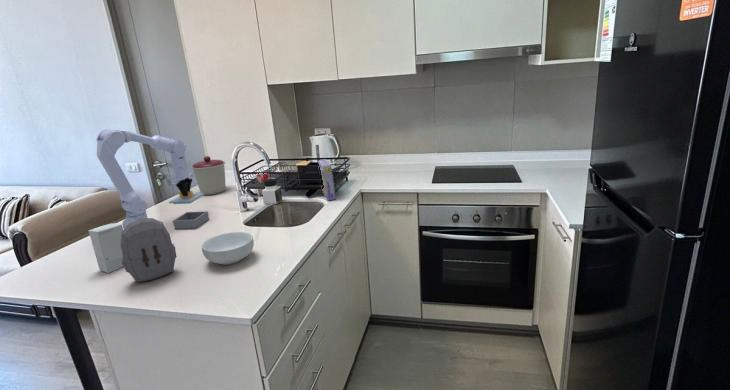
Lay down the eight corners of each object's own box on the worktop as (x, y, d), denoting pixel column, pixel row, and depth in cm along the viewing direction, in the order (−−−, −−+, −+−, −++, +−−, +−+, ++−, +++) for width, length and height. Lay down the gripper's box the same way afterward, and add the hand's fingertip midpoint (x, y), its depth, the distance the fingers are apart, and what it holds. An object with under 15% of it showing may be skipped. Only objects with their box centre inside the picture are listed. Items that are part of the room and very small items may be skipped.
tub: (196, 228, 163) (194, 220, 162) (174, 229, 164) (172, 220, 163) (209, 219, 173) (207, 211, 172) (188, 220, 174) (186, 212, 173)
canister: (219, 197, 209) (212, 159, 203) (190, 197, 212) (182, 160, 206) (235, 187, 226) (229, 152, 220) (208, 188, 229) (201, 153, 223)
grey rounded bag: (177, 265, 130) (164, 209, 124) (183, 274, 123) (169, 215, 117) (127, 281, 121) (110, 222, 116) (130, 291, 115) (112, 229, 109)
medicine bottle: (276, 204, 189) (273, 180, 185) (263, 204, 190) (259, 180, 187) (282, 199, 196) (279, 176, 192) (269, 199, 197) (266, 177, 194)
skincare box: (108, 273, 127) (96, 232, 123) (98, 270, 130) (86, 230, 126) (133, 262, 134) (122, 223, 130) (123, 260, 137) (112, 221, 133)
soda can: (256, 195, 206) (252, 174, 203) (265, 192, 212) (262, 170, 208) (266, 196, 203) (262, 174, 199) (275, 192, 209) (272, 171, 205)
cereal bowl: (261, 261, 128) (258, 242, 126) (209, 276, 120) (205, 256, 118) (249, 244, 142) (246, 227, 140) (202, 257, 135) (198, 238, 133)
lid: (191, 204, 171) (189, 194, 169) (169, 205, 172) (167, 195, 171) (204, 196, 182) (202, 187, 180) (184, 197, 183) (182, 188, 182)
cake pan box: (320, 191, 205) (317, 159, 200) (330, 190, 206) (326, 158, 201) (326, 201, 187) (322, 166, 182) (336, 200, 188) (333, 165, 183)
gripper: (179, 170, 165) (185, 200, 169) (197, 162, 178) (202, 190, 182) (164, 170, 166) (171, 200, 170) (183, 163, 179) (189, 191, 183)
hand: (186, 195), depth 176 cm, fingers closed on lid
